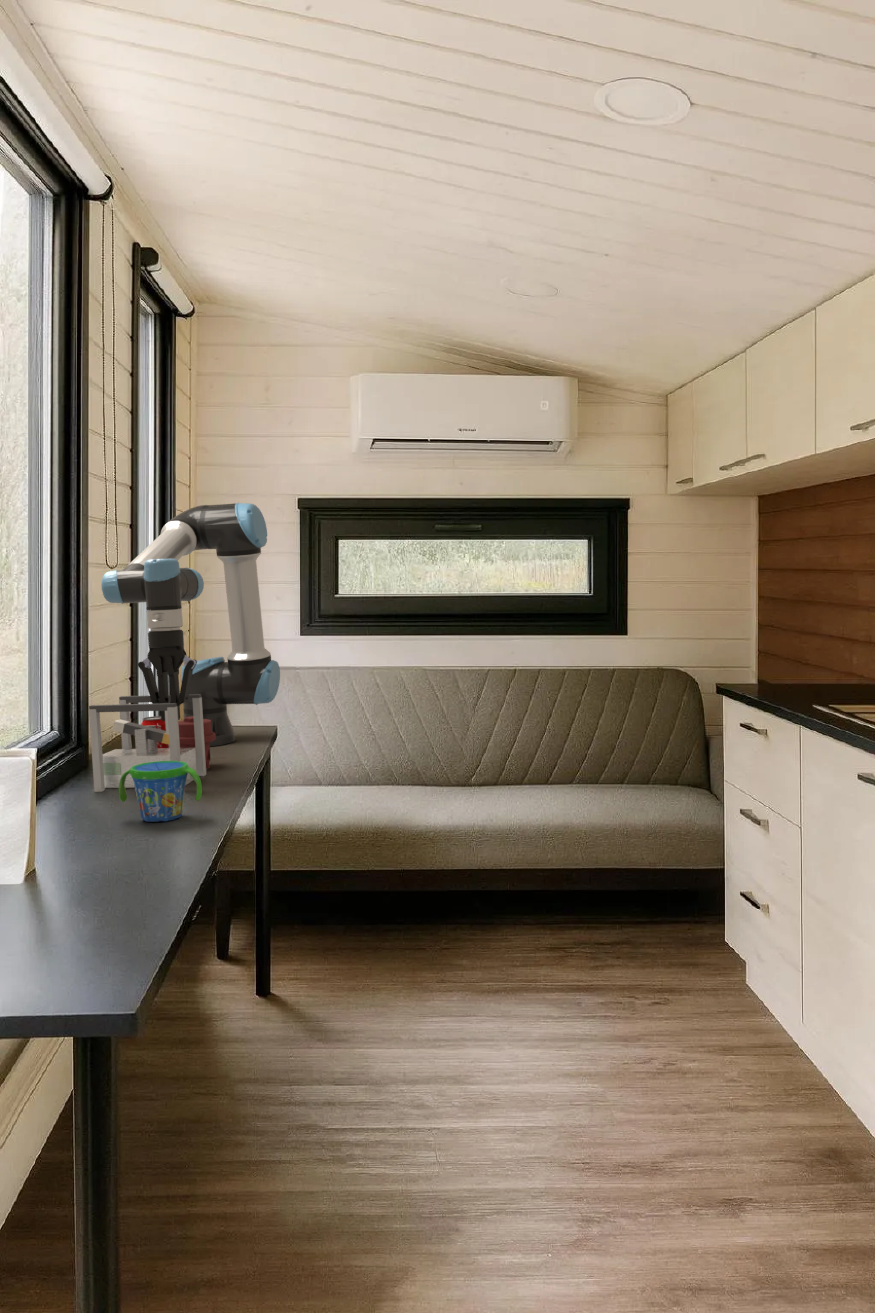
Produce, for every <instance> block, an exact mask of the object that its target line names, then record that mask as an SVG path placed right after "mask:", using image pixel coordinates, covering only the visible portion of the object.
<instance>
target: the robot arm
mask: <svg viewBox="0 0 875 1313" xmlns="http://www.w3.org/2000/svg"><path fill="white" fill-rule="evenodd" d="M267 541H268V528H267V524H266V520H265V518H264V515H263V512H261V509H260V508H259V507H258V506H257V505H256V504H254V503H250V502H249V503H246V502H245V503H243V502H236V503H235V502H234V503H226V504H225V503H223V504H204V505H203V504H202V505H197V506H193V507H190V508H189V509H186V510H184V511H182V512H180V513H178V515H175V516H174V517H172V518H171V519H170V520H169V521H167V522H166V523H165V524H164V525H163V527H162V528H161V530H160V535H159V536H157V537H156V538H155V539H154V540H153V541H152V542H151V543H150V544H149V545H147V547H145V548H144V549H143V551H141V552H140V553H139V554H138V555H137V556H136V557H135V558H134V559H133V560H132V561H130V563H128V565H126V567H124V568H123V569H122V570H118V569H115V570H111V571H110V570H109V571H107V572H105V573H104V575H103V576H102V578H101V587H100V588H101V591H102V596H103V598H104V599H105V600H106V601H107V602H108V603H109V604H110V603H111V604H122V605H123V604H134V603H135V604H138V603H145V604H146V605H145V606H146V624H147V628H148V629H150V630H149V631H148V632H147V639H148V649H149V650H148V652H147V657H146V658H145V659H143V660H142V661H139V662H138V663H137V666H138V668H139V670H140V671H141V673H142V675H143V678H144V681H145V684H146V687H147V692H148V694H149V695H148V696H150V699H151V702H150V703H151V704H160V703H177V710H178V721H181V709H180V708H181V705H182V708H183V709H182V710H183V718H182V721H183V720H184V718H185V717H190V716H193V701H188V696H189V695H190V694H201V697H202V711H203V719H208V720H211V728H212V732H214V733H215V735H216V739H215V740H214V741H212V742H210V747H214V746H223V745H227V744H228V745H229V744H231V743H234V742H235V741H236V735H235V730H234V728H233V725H232V722H231V720H230V717H229V715H228V709H227V708H228V707H227V705H256V706H257V705H260V704H269V703H271V702H273V701H274V699H275V698H276V696H277V693H278V691H279V686H280V682H281V681H280V680H281V668H280V665H279V662H278V661H277V660H274V659H272V656H271V652H270V650H268V649H267V648H266V647H265V641H264V630H263V621H262V620H263V619H262V610H261V598H260V597H261V596H260V588H259V577H258V566H257V559H258V558H259V557H260V556H261V554H262V548H263V547H265V546H266V545H267ZM199 550H216V558H218V559H219V560H220V561H221V562H222V564H223V571H224V572H223V574H224V580H225V591H226V600H227V602H226V603H227V610H228V619H229V620H228V622H229V632H230V639H231V641H230V642H231V649H232V650H231V652H230V653H229V654H228V655H227V657H226V658H227V661H226V660H225V658H224V657H223V656H218V657H211V658H204V659H199V660H197V659H193V658H191V657H189V656H187V652H186V651H185V640H184V639H185V638H184V630H183V629H181V628H182V627H183V626H184V625H183V624H184V623H183V612H182V611H183V607H182V602H190V601H193V600H195V599H197V598H199V597H200V595H202V593H203V591H204V587H205V586H204V585H205V582H204V579H203V576H202V575H201V574H200V572H198V571H197V570H195V569H194V568H189V567H187V566H186V567H180V562H179V560H180V559H181V558H182V557H185V556H188V555H190V554H192V552H195V551H199ZM152 665H153V667H154V668H155V670H156V677H157V682H156V678H155V674H154V671H153V669H152ZM180 667H181V670H180ZM180 671H181V676H179V675H180ZM168 677H169V678H168ZM179 678H180V679H179ZM168 679H169V680H168ZM180 682H181V684H180ZM169 692H170V694H169ZM169 695H170V697H171V702H169ZM160 716H161V719H162V721H165V723H166V734H167V735H169V728H168V712H167V711H160Z"/></svg>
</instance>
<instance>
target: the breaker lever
mask: <svg viewBox="0 0 875 1313" xmlns="http://www.w3.org/2000/svg"><path fill="white" fill-rule="evenodd" d="M136 729H147V733H148V739H150V740H154V741H158V742H162V743H165V744H169V735H167V734H166V731H164V730H160V729H156V728H152V727H148V726H144V725H141V723H140V724H139V723H136V722H131V721H130V722H129V721H125V720H121V719H120V718H119V719H117V720H114V721H113V725H112V731H113V732H117V733H120V734H121V733H126V734H130V735H131V736H134V737H135V730H136ZM169 746H170V744H169Z"/></svg>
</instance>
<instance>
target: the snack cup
mask: <svg viewBox="0 0 875 1313" xmlns="http://www.w3.org/2000/svg"><path fill="white" fill-rule="evenodd" d="M188 773H189V774H190V775H191V777H192V778H193V779H194V780H193V781H194V782H195V783H196V797H195V802H198V801H199V800H201V797H202V794H203V785H202V781H201V778H200V776H198V774H197V773H196V771H195V770H193V769H192V768H190V767H189V766H188V764H187V763H185V762H181V761H155V762H147V763H142V764H138V765H135V766H132V767H131V768H130V770H128V771H126V772H125V773H124V774H123V775H122V777H121V779H120V782H119V788H118V797H119V800H120V801H121V802H126V801H127V799H128V796H127V790H126V788H125V786H124V784H125V780H126V776H127V775H128V774H131V777H132V778H133V781H134V786H135V788H134V790H135V796H136V801H137V805H138V809H139V810H138V812H139V814H140V817H141V819H142V820H143V821H145V822H147V823H148V822H151V823H153V822H154V823H158V822H168V821H174V820H177V819H178V818H181V817H182V815H183V810H184V802H185V800H184V799H185V790H186V789H185V788H186V785H185V782H186V778H187V774H188Z"/></svg>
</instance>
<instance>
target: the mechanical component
mask: <svg viewBox="0 0 875 1313" xmlns="http://www.w3.org/2000/svg"><path fill="white" fill-rule="evenodd" d="M183 718H184V717H183ZM178 726H179V742H180V748H195V732H194V716H190V717H185V718H184V720H183V719H182V720H178ZM203 727H204V744H205V761H206V770H207V769H210V762H211V746H210V742H212V741H214V740H215V739H216V735H215V733H214V732H212V728H211V720H208V719H203ZM195 751H196V748H195ZM196 767H197V765H196Z"/></svg>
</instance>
